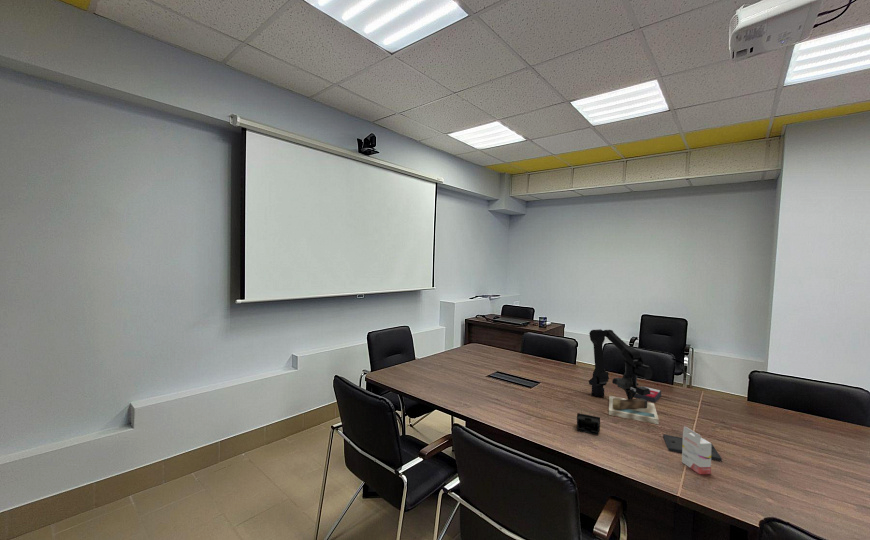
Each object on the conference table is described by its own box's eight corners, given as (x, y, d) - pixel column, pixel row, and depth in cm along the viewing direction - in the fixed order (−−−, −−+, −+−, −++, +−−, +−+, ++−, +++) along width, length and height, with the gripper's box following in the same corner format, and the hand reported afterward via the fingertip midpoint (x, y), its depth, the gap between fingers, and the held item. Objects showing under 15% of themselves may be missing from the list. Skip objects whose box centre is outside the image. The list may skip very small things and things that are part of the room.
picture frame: (711, 447, 149) (663, 438, 156) (711, 442, 149) (663, 433, 156) (721, 463, 137) (668, 452, 144) (721, 457, 137) (668, 447, 144)
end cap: (599, 429, 163) (600, 415, 163) (599, 435, 156) (600, 421, 156) (577, 424, 167) (577, 411, 167) (576, 430, 161) (576, 416, 161)
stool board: (608, 414, 179) (608, 409, 179) (609, 400, 199) (609, 395, 199) (658, 424, 169) (658, 419, 169) (653, 408, 189) (653, 403, 189)
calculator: (633, 392, 204) (641, 385, 215) (633, 399, 205) (640, 391, 215) (655, 397, 197) (661, 389, 207) (654, 404, 197) (661, 396, 207)
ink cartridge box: (711, 474, 128) (713, 435, 128) (699, 475, 128) (700, 435, 127) (692, 461, 136) (693, 425, 136) (681, 461, 136) (682, 425, 136)
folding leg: (616, 410, 179) (616, 401, 179) (610, 407, 182) (611, 398, 182) (647, 407, 182) (647, 399, 182) (641, 405, 186) (641, 396, 186)
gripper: (605, 369, 191) (604, 396, 191) (636, 380, 174) (635, 411, 174) (620, 367, 195) (618, 394, 196) (651, 378, 178) (650, 407, 178)
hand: (629, 401), depth 186 cm, fingers closed
